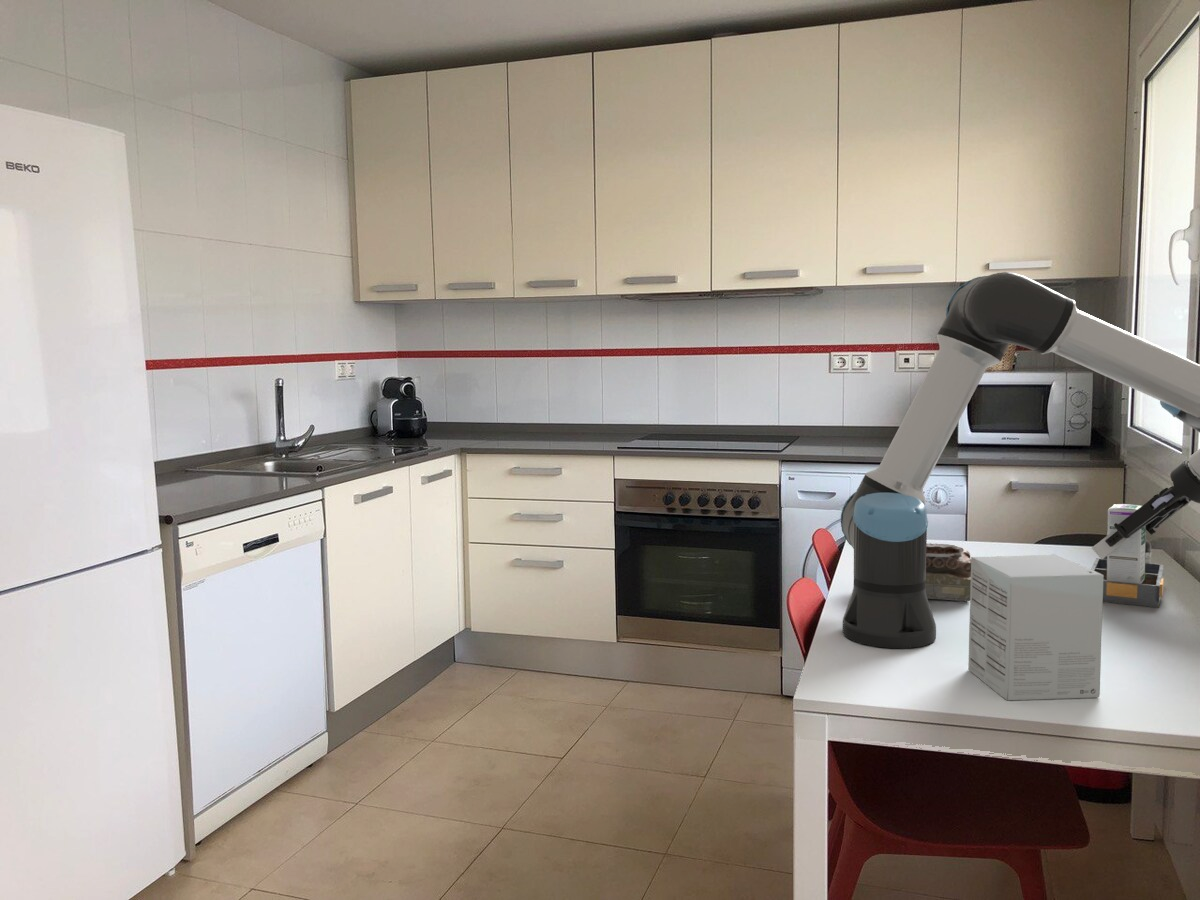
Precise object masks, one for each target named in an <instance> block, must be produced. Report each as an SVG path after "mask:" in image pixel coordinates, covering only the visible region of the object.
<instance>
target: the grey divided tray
mask: <svg viewBox="0 0 1200 900" xmlns="http://www.w3.org/2000/svg"><path fill="white" fill-rule="evenodd" d="M1164 566H1165V565H1164V564H1163V563H1162V564H1161V563H1152V562H1151V563H1145V579H1144V581H1143V582H1142V583H1141V584H1138V583H1128V582H1119V581H1109V580H1107V559H1101V558H1100V557H1099V558H1097V557H1096V558H1095V560H1094V562H1093V564H1092V566H1091V568H1090V569H1091V570H1093V571H1096V572H1098V573H1100V574H1102V575H1104V579H1103V603H1104V602H1105V603H1113V604H1120V605H1121V604H1122V605H1130V606H1131V605H1132V606H1139V607H1147V608H1148V607H1150V608H1159V607H1160V602H1161V598H1163V594H1164V581H1165V580H1164Z"/></svg>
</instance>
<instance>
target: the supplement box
mask: <svg viewBox="0 0 1200 900" xmlns="http://www.w3.org/2000/svg"><path fill="white" fill-rule="evenodd" d="M970 559H971V587H970V601H969V630H968V631H969V632H968V662H967V663H968V670H969V671H970V672H971V673H972V674H974V675H975V676H976V677H977V678H978V679H980V680H981V681H982V682H983V683H985V684H986V685H987V686H988V687H990V689H992V690H993V691H994V692H996V693H997V694H998V695H999V696H1001V698H1003V699H1004V700H1005V701H1032V700H1061V699H1062V700H1063V699H1064V700H1067V699H1068V700H1069V699H1090V698H1091V699H1092V698H1096V699H1097V698H1099V697H1100V696H1101V695H1100V694H1101V670H1102V669H1101V663H1102V635H1103V634H1102V632H1103V631H1102V630H1103V624H1102V623H1103V603H1104V602H1103V579H1104V575H1102V574H1100V573H1098V572H1096V571H1093V570H1091V568H1089V567H1086V566H1083V565H1080V564H1079V563H1076V562H1075V561H1071V560H1069V559H1067V558H1064V557H1062V556H1059V555H1057V554H1035V555H1033V554H1032V555H1005V556H1002V555H1001V556H970Z"/></svg>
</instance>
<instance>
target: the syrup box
mask: <svg viewBox="0 0 1200 900" xmlns="http://www.w3.org/2000/svg"><path fill="white" fill-rule="evenodd" d="M1142 506H1143V505H1139V504H1131V503H1130V504H1129V503H1127V504H1126V503H1117V504H1115V503H1114V504H1113V505H1112V506H1110V507H1109V508H1108V509H1107V528H1106V529H1107V531H1106V532H1107V533H1106V536H1107V535H1108V534H1110V533H1111V532H1112V531H1114V530H1115V529H1116V528H1115V526H1114V524H1115V523H1117V524H1119V523H1121V522H1122V521H1123V520H1125V519H1126V518H1127V517H1129V516H1130V515H1131V514H1132V513H1134V512H1135V511H1136V510H1138V509H1139V508H1140V507H1142ZM1146 532H1147V530H1146V526H1144V527H1143V528H1141V529H1140V530H1138V531H1137V532H1135V533H1134V534H1133V535H1131V536H1130V537H1129V539H1128V540H1127V541H1126V542H1124V543H1123V544H1122V545H1120V546H1119V547H1118V548H1117V549H1115V550H1114V551H1113V552H1111V553H1110V554H1109V555H1108V556H1107V580H1109V581H1119V582H1128V583H1138V584H1141V583H1142V582H1143V581H1144V579H1145V546H1146V540H1147V538H1146V537H1147V534H1146Z"/></svg>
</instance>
